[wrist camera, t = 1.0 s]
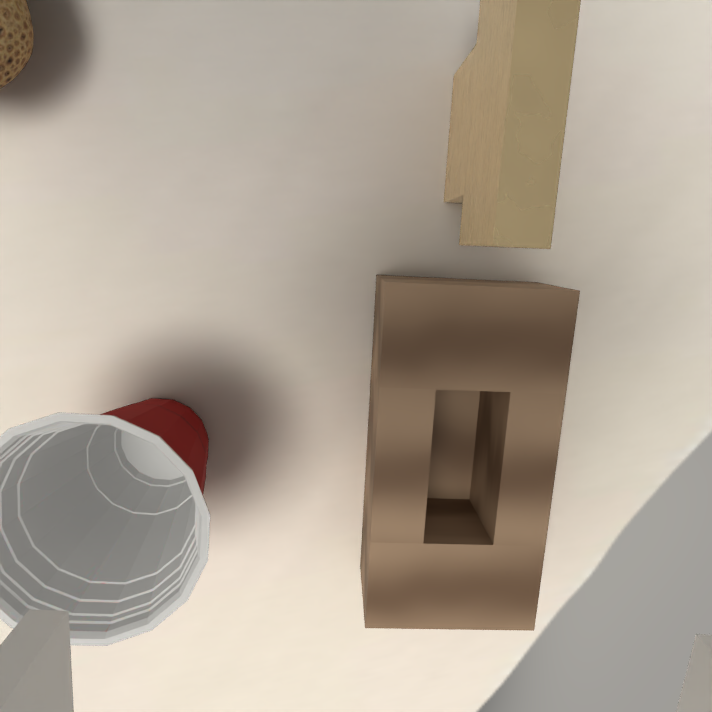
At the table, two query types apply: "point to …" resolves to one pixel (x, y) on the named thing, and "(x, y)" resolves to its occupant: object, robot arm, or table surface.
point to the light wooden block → (511, 122)
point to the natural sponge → (14, 38)
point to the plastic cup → (103, 518)
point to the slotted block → (462, 449)
